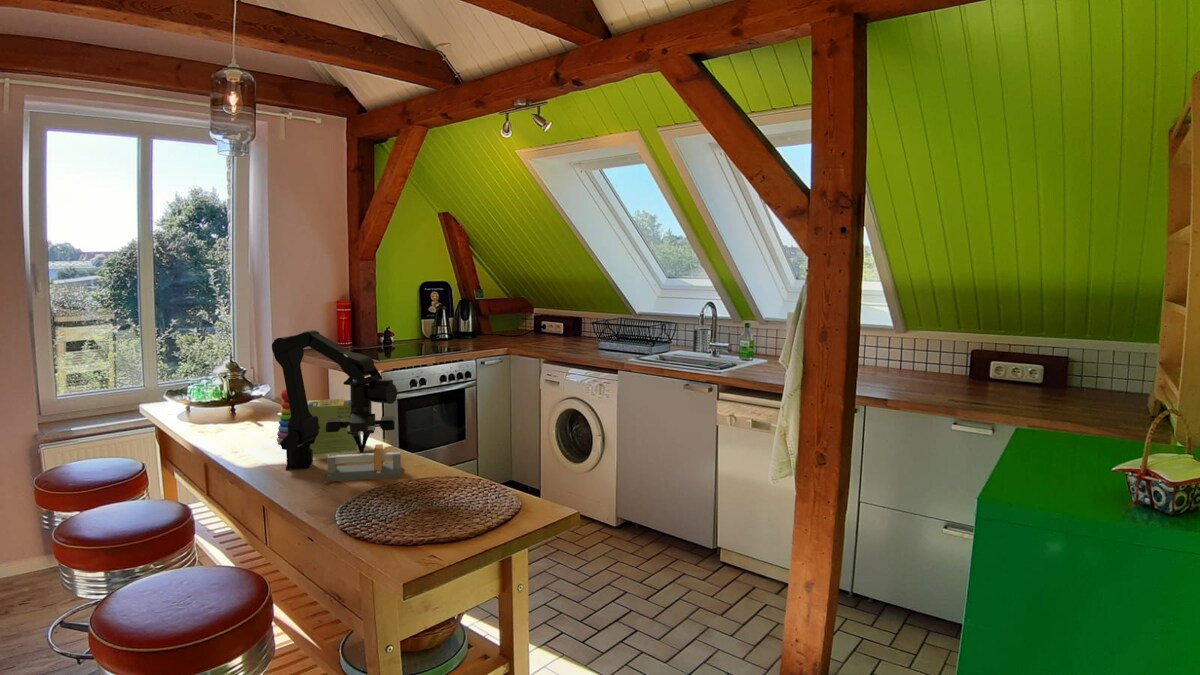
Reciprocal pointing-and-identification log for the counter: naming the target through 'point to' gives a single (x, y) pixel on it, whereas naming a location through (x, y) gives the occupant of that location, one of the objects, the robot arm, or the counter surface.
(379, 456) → the collar
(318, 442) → the protein box
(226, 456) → the counter surface
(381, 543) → the counter surface
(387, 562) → the counter surface
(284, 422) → the stacking toy
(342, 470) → the pipe rig
